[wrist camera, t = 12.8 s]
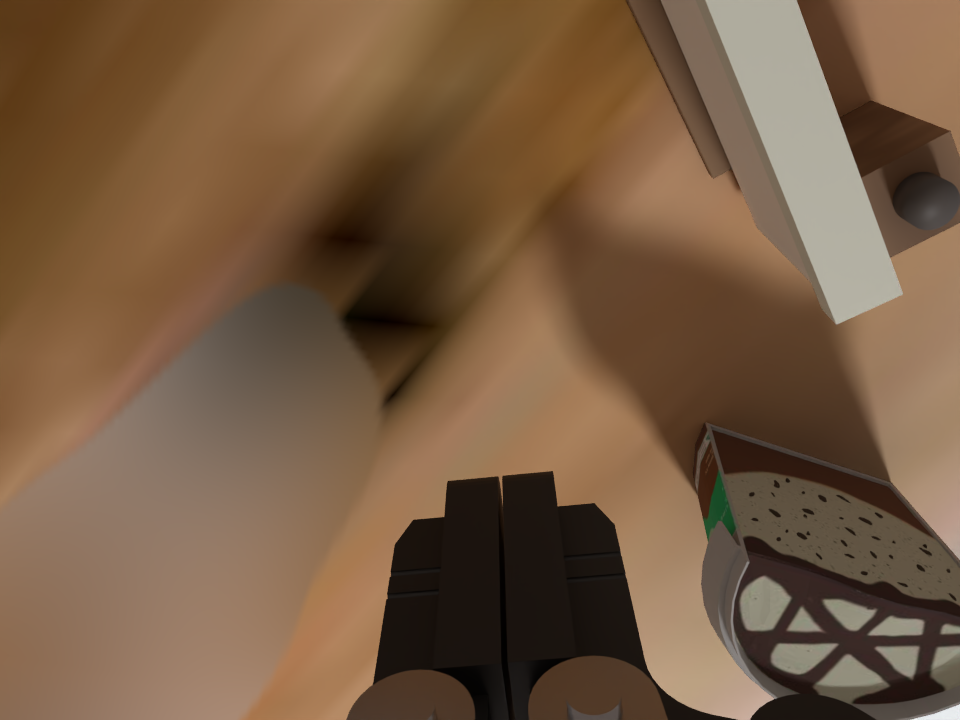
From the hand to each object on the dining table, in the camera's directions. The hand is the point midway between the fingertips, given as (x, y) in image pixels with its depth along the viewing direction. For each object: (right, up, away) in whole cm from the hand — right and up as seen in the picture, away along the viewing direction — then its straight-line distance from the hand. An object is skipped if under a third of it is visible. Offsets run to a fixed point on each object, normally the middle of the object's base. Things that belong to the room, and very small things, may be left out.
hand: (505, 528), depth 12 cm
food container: (+13, -4, +28) cm, 31 cm away
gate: (+7, +15, +17) cm, 24 cm away
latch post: (+14, +10, +20) cm, 27 cm away
